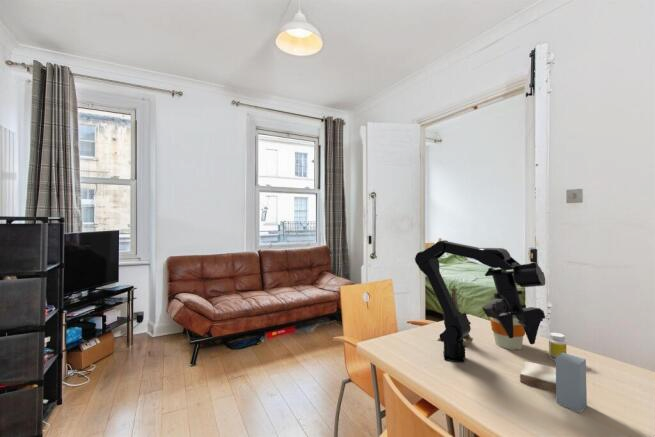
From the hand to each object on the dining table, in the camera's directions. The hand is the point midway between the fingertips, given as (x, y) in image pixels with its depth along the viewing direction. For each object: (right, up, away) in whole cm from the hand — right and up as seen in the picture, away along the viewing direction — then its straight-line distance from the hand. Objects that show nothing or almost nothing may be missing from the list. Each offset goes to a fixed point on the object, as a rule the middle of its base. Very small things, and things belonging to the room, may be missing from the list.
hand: (521, 341), depth 91 cm
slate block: (+6, -12, -12) cm, 18 cm away
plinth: (+6, -12, 0) cm, 13 cm away
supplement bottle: (+21, -12, +13) cm, 27 cm away
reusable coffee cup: (+11, -12, +26) cm, 31 cm away
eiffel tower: (-7, -12, +32) cm, 35 cm away
